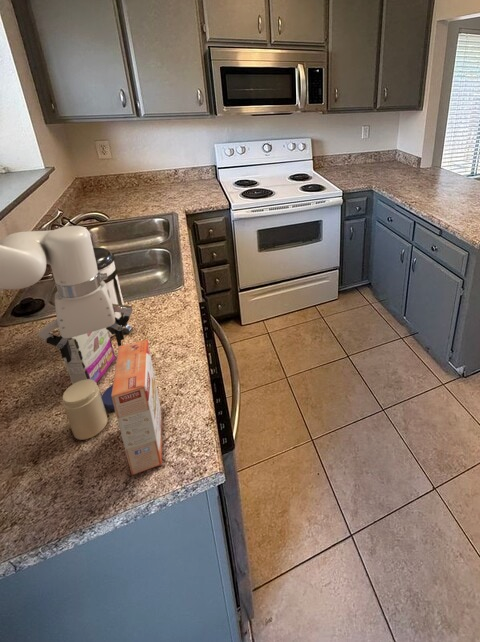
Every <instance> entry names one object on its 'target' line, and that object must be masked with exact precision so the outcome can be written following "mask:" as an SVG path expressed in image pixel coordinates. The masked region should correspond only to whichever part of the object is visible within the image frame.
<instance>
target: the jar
mask: <svg viewBox="0 0 480 642" xmlns="http://www.w3.org/2000/svg"><path fill="white" fill-rule="evenodd" d="M62 407H63V409H64V412H65V413H66V414H65V416H66V417H67V420H68V423H69V426H70V429H71V432H72V435H73V437H74V438H75V439H77V440H80V441H82V440H88V439H91V438H93V437H96V435H98V434H100V432H102V431H103V430H104V429H105V427H106V426H107V424H108V421H109V417H108V415H107V410H106V409H105V407H104V403H103V400H102V393H101V390H100V387H99V386H98V383H97V384H96V383H95V381H94V380H91V379H85V380H81V381H78V382H76V383H74V384H73V385H72V384H71V385H70V386H68V388H66V390H65V391H64V392H63V394H62Z"/></svg>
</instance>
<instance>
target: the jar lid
mask: <svg viewBox="0 0 480 642" xmlns="http://www.w3.org/2000/svg"><path fill="white" fill-rule="evenodd" d="M112 388H113V384H111V385H109V386H108V387H107V388H106V389H105V390H104V392H103V393H102V394H101V397H102V400H103V403H104V407H105V410H106V411H111V412H115V409H114V405H113V400H112V396H111V394H112Z"/></svg>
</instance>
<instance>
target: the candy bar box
mask: <svg viewBox="0 0 480 642" xmlns="http://www.w3.org/2000/svg"><path fill="white" fill-rule="evenodd" d="M58 336H60V334H59V335H58ZM68 341H69V345H70V348H71V352H72V357H71V361H70V362H68V363H67V360H66V357H65V358H62V359H63V362H64V365H65V368H66V371H67V373H68V377H69V380H70V382H71V385H73V384H74V383H76V382H78V381H81V380H85V379H91V380H94V381H95V383H96V384H97V385H98V383H99V382H100V380H101V379H102V378H103V377H104V375H105V374H106V372H107V370H109V368H110V367H111V365H112V364H113V363H114V361H115V359H117V356H116V355H115V350H114V347H113V344H112V341H111V337H109V333H108V330H107V328H104V329H100V330H97V331H94V332H90V333H87V334H83V335H79V336H76V337H72V338H69V340H68Z"/></svg>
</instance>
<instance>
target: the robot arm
mask: <svg viewBox="0 0 480 642" xmlns="http://www.w3.org/2000/svg"><path fill="white" fill-rule="evenodd" d="M92 241H93V240H92V236H91V234H90V231H89V230H88V229H87V228H86V227H84V226H81V225H68V226H62V227H58V228H55V229H51V230H28V231H27V230H25V231H18V232H13V233H11V234H8V235H6V236H5V237H3V238H2V239H1V240H0V290H10V291H11V290H14V291H15V290H22V289H26V288H29V287H31V286H34V285H36V284H37V283H38V282H39V281H41V279H42V278H43V277H44V275H45V273H46V269H47V265H49V266H50V269H51V272H52V276H53V279H54V283H55V286H56V290H57V291H56V292H55V293H54V307H55V316H56V319H53V320H52V322H51V321H50V323H48V324H46V325H45V326H44V327H43V328H41V329H39V330H38V333H37V336H38V337H39V338H40V339H42V340H43V341H45V342H46V344H47V345H51V346H55V347H56V348H57V349H59V351H60V354H61V359H63V358H65V357H66V360H67V363H68V362H70V361H71V357H72V352H71V348H70V345H69V341H68V340H69V338H72V337H76V336H79V335H83V334H87V333H90V332H94V331H97V330H100V329H104V328H107V327H112V328H114V329H115V335H114V336H115V338H116V344H117V347H119V346H123V345H122V341H123V340H125V335H124V332H123V331H122V329H123V327H124V326H125V324H126V323H127V324H128V322H129V321H130V318H131V315H132V313H133V311H134V310H133V306H131V305H125V304H124V305H118V304H113V303H112V299H111V296H110V293H109V290H108V288H107V286H106V284H105V282H104V281H103V280H105V279H108V277H107V273H104V274H103V273H101V274H100V272H99V271H98V268H97V264H96V259H95V255H94V250H93V247H94V245H93V242H92ZM115 312H122V313H124V315H123V316H122V317H121V318H120V319H118V318H116V317H115ZM124 328H125V327H124ZM56 329H58V332H59V335H60V336H59V335H56V334H53V333H52V332H53V331H54V330H56Z"/></svg>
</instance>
